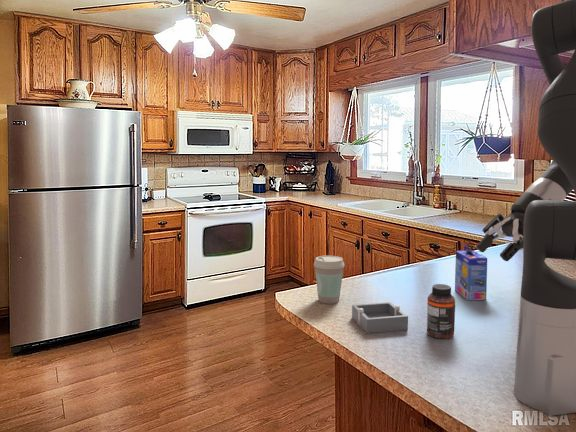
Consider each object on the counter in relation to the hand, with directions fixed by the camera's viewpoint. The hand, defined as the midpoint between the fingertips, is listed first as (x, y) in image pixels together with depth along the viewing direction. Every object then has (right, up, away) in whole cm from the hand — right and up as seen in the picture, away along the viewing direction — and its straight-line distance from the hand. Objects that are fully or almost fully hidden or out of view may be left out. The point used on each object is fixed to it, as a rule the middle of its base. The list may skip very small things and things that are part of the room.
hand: (490, 254), depth 101 cm
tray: (-24, -17, +6) cm, 30 cm away
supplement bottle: (-12, -18, 0) cm, 22 cm away
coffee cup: (-35, -15, +24) cm, 45 cm away
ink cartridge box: (+6, -14, +28) cm, 32 cm away
